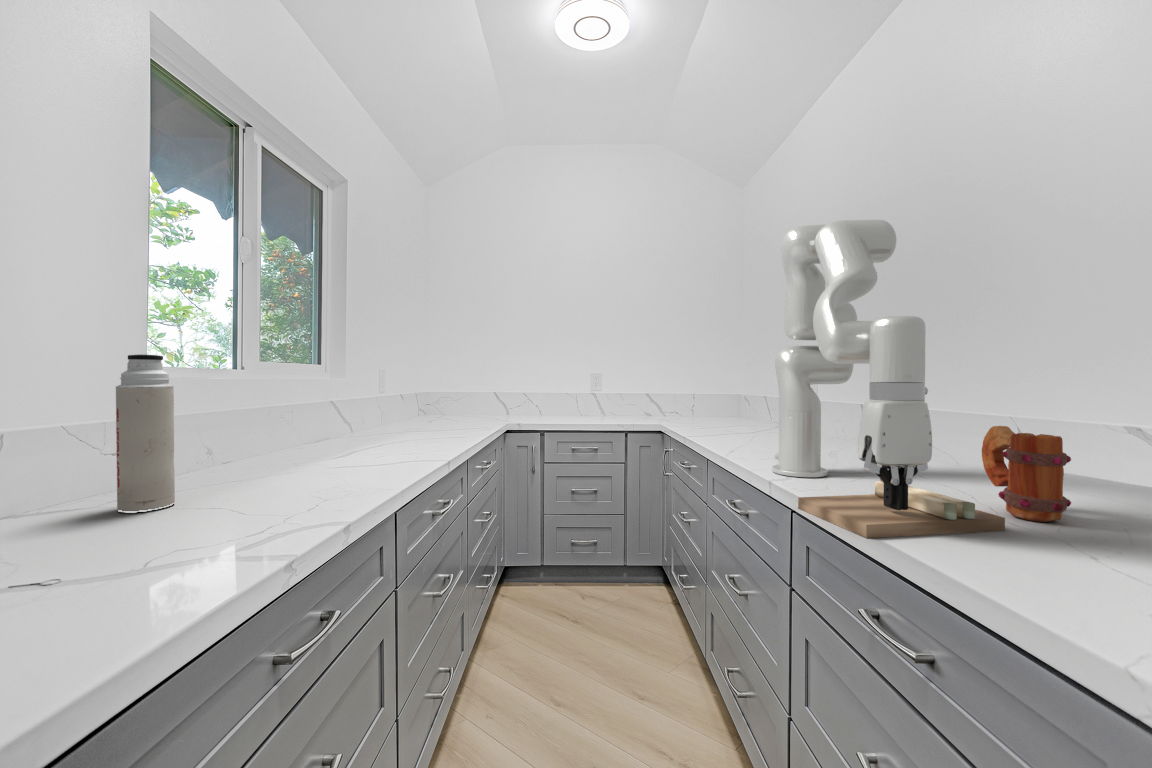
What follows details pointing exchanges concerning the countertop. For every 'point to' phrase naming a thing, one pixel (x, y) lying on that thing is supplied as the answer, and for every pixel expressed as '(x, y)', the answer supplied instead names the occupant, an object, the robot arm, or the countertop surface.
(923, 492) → the tongs fixed
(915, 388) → the robot arm
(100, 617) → the countertop surface
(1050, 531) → the countertop surface
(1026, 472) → the mug
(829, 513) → the board
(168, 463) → the thermos bottle
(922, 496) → the tong arm
